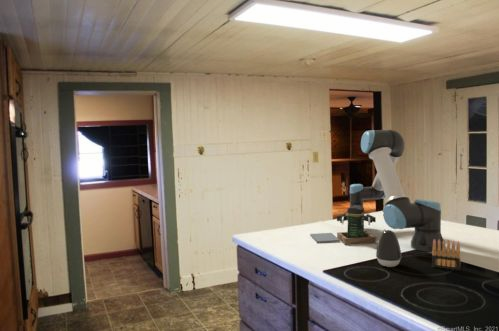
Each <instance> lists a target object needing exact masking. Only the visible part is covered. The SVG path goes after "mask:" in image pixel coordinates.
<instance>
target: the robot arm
mask: <svg viewBox="0 0 499 331" xmlns="http://www.w3.org/2000/svg"><path fill="white" fill-rule="evenodd" d="M360 139H361V140H360V148H361V151H362V152H363V153H364V154H367V155H368V158H369V159H370V160H372V161H373V163H374V167H375V169H376V174H375V177H374V180H373V182H372V185H371V186H364V185H363V184H361V183H353V184H350V185H349V208H350V207H352V206H354V205H360V206H362V207H364V201H368V200H381V199H385V198H386V199H385V200H386V201H385V203H384V207H383V210H382V213H383V219H384V222H385V224H386V225H387V227H389V228H391V229H393V230H404V229H412V228H413V229H414V231H413V235H412V238H411V240H410V247H411V248H412V249H414V250H417V251H422V252H432V248H433V241H434V239H435V241H436V249H437V246H438V240H439V239H440V242H441V252H442V244H443V240H444V238H443V234H442V231H441V229H442V228H441V227H442V226H441V225H442V223H441V222H442V221H441V219H442V210H441V209H442V206H441V203H440V202H438V201H436V200H429V199H424V198H423V199H421V198H417V199H416V198H415V199H414V202H411V200H410V197H409V196H406V195H405V193H404V190H403V187H402V185H401V182H400V179H399V177H398V173H397V171H396V168H395V167H396V165H397V163H398V160H399V158H401V157H402V156H403V154H404V152H405V147H406V145H405V144H406V143H405V139H404V136H403V135H402V133H400V131H397V130H394V129H379V130H378V129H377V130H374V129H372V130H366V131H364V133H363V134H362V136H361V138H360ZM376 219H377V218H376V216H374V215H371V214H369V213H367V214H364V222H368V226H371V223H376ZM336 221H337V222H339V223H341V225H344V222H346V221H348V216H347V213H343V214H340V215H337V216H336Z"/></svg>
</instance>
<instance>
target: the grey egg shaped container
mask: <svg viewBox="0 0 499 331" xmlns="http://www.w3.org/2000/svg"><path fill="white" fill-rule="evenodd" d="M377 242H378V243H377V246H376V253H375V255H376V256H375V257H376V259H377V262H378V264H380V265H381V266H383V267H385V266H386V268H394V267H396V266H398V265H399V264H400V262H401V259H402V251H401V247H400V242H399V240H398V237H397V235H396V233H395V232H394V231H392V230H390V229H389V230H388V229H387V230H386V229H383V232H382V233H381V234H380V236H379V239H378V241H377Z"/></svg>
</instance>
